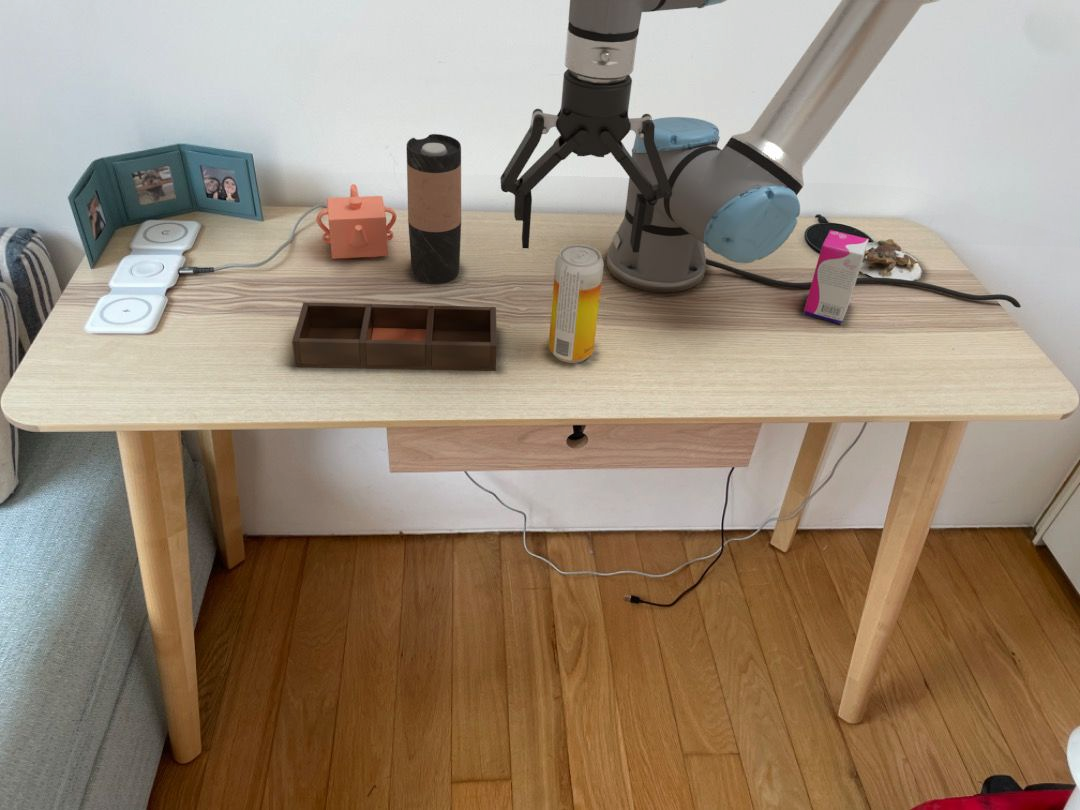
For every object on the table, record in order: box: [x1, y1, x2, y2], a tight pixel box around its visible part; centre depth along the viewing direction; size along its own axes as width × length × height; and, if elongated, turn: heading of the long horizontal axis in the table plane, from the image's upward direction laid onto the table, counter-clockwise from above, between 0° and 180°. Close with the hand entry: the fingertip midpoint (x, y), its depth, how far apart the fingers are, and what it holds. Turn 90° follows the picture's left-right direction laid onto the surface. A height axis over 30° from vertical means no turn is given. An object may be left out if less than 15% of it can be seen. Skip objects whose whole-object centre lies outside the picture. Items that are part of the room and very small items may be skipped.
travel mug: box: [406, 133, 462, 285], centre depth 130 cm, size 8×8×20 cm
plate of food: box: [859, 238, 923, 281], centre depth 145 cm, size 12×12×4 cm
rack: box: [291, 301, 498, 372], centre depth 119 cm, size 26×9×4 cm, turn 93°
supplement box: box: [803, 229, 870, 325], centre depth 131 cm, size 6×6×12 cm
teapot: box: [316, 183, 397, 260], centre depth 137 cm, size 12×15×8 cm
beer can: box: [548, 243, 605, 364], centre depth 117 cm, size 6×6×15 cm
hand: (580, 245), depth 112 cm, fingers open, 13 cm apart
